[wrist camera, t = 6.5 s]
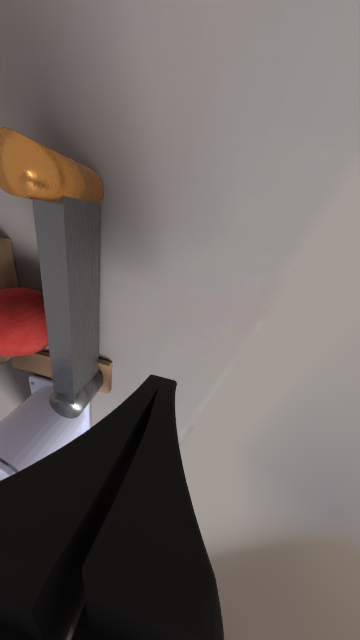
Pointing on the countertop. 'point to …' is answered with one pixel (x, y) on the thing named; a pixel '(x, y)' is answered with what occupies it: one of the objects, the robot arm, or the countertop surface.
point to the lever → (62, 260)
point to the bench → (4, 277)
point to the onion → (22, 322)
